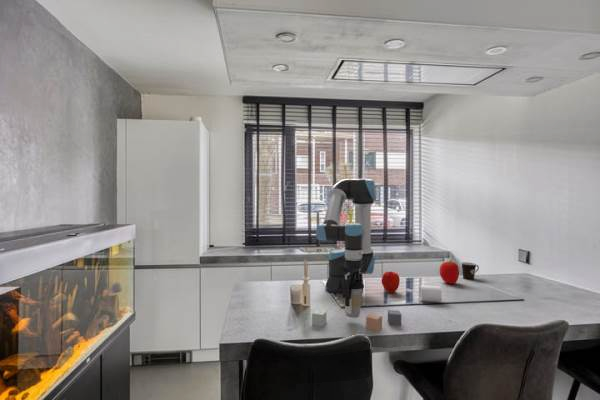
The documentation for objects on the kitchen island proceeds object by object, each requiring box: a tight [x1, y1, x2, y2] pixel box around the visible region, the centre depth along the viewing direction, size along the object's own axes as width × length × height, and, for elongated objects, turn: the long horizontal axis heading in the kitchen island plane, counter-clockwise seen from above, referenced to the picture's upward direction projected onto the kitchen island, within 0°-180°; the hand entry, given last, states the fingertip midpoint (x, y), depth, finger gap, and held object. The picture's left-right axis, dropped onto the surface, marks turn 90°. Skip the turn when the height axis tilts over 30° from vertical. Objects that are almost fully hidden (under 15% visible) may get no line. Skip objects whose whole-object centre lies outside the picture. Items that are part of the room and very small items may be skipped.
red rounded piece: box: [381, 271, 401, 294], centre depth 197 cm, size 10×10×12 cm
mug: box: [418, 285, 443, 303], centre depth 183 cm, size 12×10×8 cm
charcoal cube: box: [387, 309, 402, 327], centre depth 150 cm, size 5×5×5 cm
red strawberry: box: [439, 260, 460, 285], centre depth 218 cm, size 13×11×14 cm
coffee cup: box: [342, 280, 365, 319], centre depth 151 cm, size 9×9×15 cm
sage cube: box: [311, 309, 327, 327], centre depth 149 cm, size 5×5×5 cm
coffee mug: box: [461, 262, 480, 281], centre depth 230 cm, size 12×9×10 cm
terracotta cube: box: [365, 313, 383, 332], centre depth 145 cm, size 5×5×5 cm
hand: (352, 310), depth 151 cm, fingers closed on coffee cup, 8 cm apart
